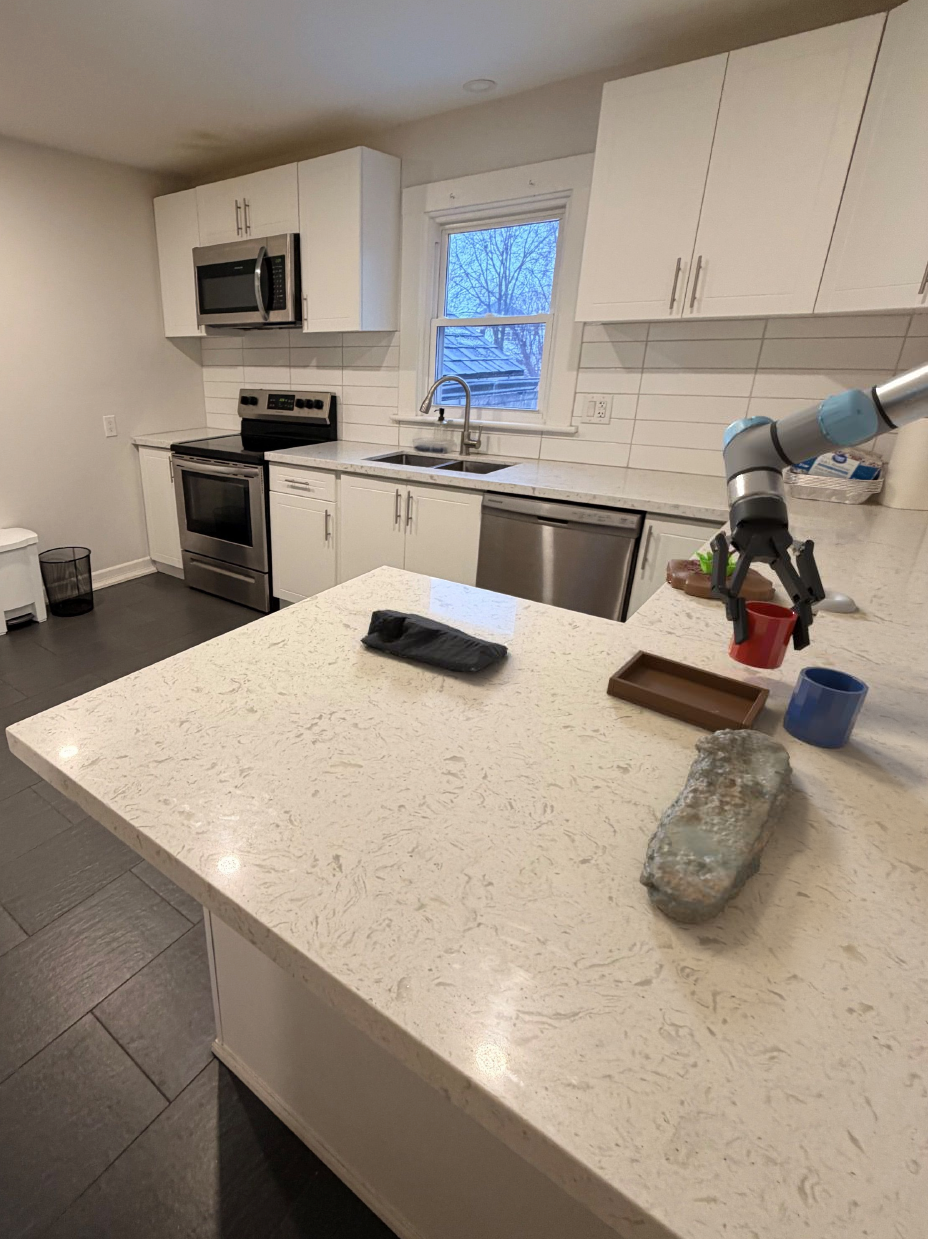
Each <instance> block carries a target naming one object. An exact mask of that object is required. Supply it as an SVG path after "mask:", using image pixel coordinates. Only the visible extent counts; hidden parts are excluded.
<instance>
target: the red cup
mask: <svg viewBox="0 0 928 1239" xmlns="http://www.w3.org/2000/svg"><path fill="white" fill-rule="evenodd" d="M790 608H791V607H788V606H784V605H781V604H778V603H774V602H771V601H770V602H769V601H746V612H747V623H748V633H749V639H748V640H747V641H745V642H744V643H742V644H741V645H735V641H734V630H733V631H732V634H731V638H730V642H729V645H728V649H727V655H728V656H729V657H730V658H731V659H732V660H733V661H735V662H737V663H740V664H742V665H744V666H749V667H752V668H755V669H762V670H776V669H780V668H781V667H782V666H783V664H784V663H783V662H784V661H785V658H786V655H787V651H788V648H789V646H790V643H791V640H792V638H793V637H792V634H793V631H794V628H795V624H796V621H797V618H798V614H797V613H796V612H795V611H794V610H792V609H790Z"/></svg>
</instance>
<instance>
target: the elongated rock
mask: <svg viewBox="0 0 928 1239" xmlns="http://www.w3.org/2000/svg"><path fill="white" fill-rule="evenodd" d="M694 749H695V750H696V751H697V753H698V755H697V756H696V757H695V758H694V760H693V761H692V762H691V765H690V769H689V773H688V774H687V777H686V781H685V783H684V787H683V789H682V791H680V792H679V793H678V796H676V798H675V799H673V801H672V803H671V804H670V806H668V807H667V809H665V811H664V812H663V814H662V815H661V816H660V819H659V822H658V824H657V826H656V828H657V829H656V830H654V831H653V832H652V834H651V835H650V837H649V838H648V839H647V848H646V852H645V859H644V861H643V869H641V873H640V876H639V884H641V885H642V886H644V887H645V888H646V889H647V890H646V893H647V895H648V898H649V900H650V901H651V902H652V903H654V905H655V906H656V907H657V908H658V909H659V910H661V911H662V912H663V913H664V914H665V915H668V916H670V917H671V918H673V919H675V920H677V921H680V922H682V923H687V924H688V923H689V924H693V925H703V924H705V923H706V922H708V921H710V920H711V919H715V918H717V917H719V916H720V914H721V913H724V912H725V906H726V905H727V904H726V903H728V902H729V901H731V900H736V899H737V898H738V897H739V896H740V894H741V893H742V889H743V887H745V886H746V881H748V880H749V879H751V878H753V877H754V876H755V875H757V873H759V872H760V871H761V863H762V861H761V859H762V857H763V855H762V852H763V851H764V849H765V847H766V846H767V844H768V843H769V841H770V839H771V838H772V836H773V834H774V833H775V829H776V827H777V825H778V820H781V819H783V818H782V817H783V816H782V813H783V811H784V810H786V809H787V805H788V804H789V802H790V800H791V798H792V797H791V795H790V793H791V791H792V790H793V785H792V784H793V780H792V779H791V775H792V773H793V771H794V768H793V767H792V766H791V764H790V763H791V762H790V759H791V756H790V753H789V752H788V751H787V748H786V747H785V746H784V745H783V744H782V743H781V742H780V741H779V740H778V739H775V738H774V737H772V736H770V735H768V734H766V733H763V732H761V731H758V730H754V729H753V730H752V729H751V730H738V731H737V730H735V731H733V730H731V729H728V728H727V729H726V730H720V731H719V730H717V731H716V732H713V734H710V735H708V736H706V735H703V736H700V737H698V739H697V741H696V743H695V744H694Z"/></svg>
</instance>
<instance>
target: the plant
mask: <svg viewBox="0 0 928 1239" xmlns="http://www.w3.org/2000/svg"><path fill="white" fill-rule="evenodd" d="M717 534H723V535H724V536H727V532H726V531H725V530H720V531H718V533H717ZM736 553H738V552H737V551H736V550H735V549H734V548H733V549H732V550H730V547H729V548H728V560H727V574H726V588H727V587H728V585H729V582H730V579H731V577H732V574H733V572H734V569H735V567H736V562H737V560H736V561H733V560H734V554H736ZM694 554H695V555H696V556H697V557H698V558H699V559H683V558H682V559H681V558H677V559H675V558H674V559H669V561H668V562H667V566H666V569H665V570H666V578H665V582H666V583H669V581H671V582H670V583H669V584H670V586H671V588H674V589H678V590H682V591H683V593H685V594H688V595H691V596H695V597H699V598H704V599H714V598H713V597H711V595H710V587H711V575H712V562H713V552H710V551H706V556H705V554H702V553H700V552H697V551H694ZM775 595H776V588H775V587H773V582H772V581H771V580H770V579H768V578H767V577H765V576H764V575H763V574H762V573H761V572H759V571H758V570H756V569H754V568H751V567H749V569H748V572H747V575H746V577H745V580H744V582H743V585H742V588H741V590H740V593H739V595H738V598H739V597H745V601H746V602H747V601H763V602H766V601H769V600H773V599H774V597H775ZM716 599H719V598H718V597H717V598H716Z"/></svg>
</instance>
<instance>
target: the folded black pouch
mask: <svg viewBox="0 0 928 1239" xmlns="http://www.w3.org/2000/svg"><path fill="white" fill-rule="evenodd" d="M369 622H370V623H369V626H368V630H367V633H366V635H365V636H364V637H362V638H361V639H359V641H360V642H361V644H362V645H365V646H367V647H369V648H370V647H371V648H372V647H373V648H378V649H380V650H382V651H383V652H387V653H389V654H392V655H396V656H400V657H401V658H407V659H408V658H411V659H415V660H418V661H419V662H423V663H428V665H435V666H436V667H441V668H445V669H448V670H452V671H454V672H458V671H460V672H461V671H464V672H477V671H479V670H480V669H482V668H485V667H486V666H488V665H490V664H492V663H494V662H495V661H499V660H501V659H502V658H503V657H505V656H506V655H507V654H508V650H509V648H508V647H507V646H506V645H503V644H501V643H498V642H493V641H488V640H485V639H482V638H478V637H476V636H473V635H470V634H469V633H466V632H465V631H462V630H461V629H458V628H456V627H453V626H450V625H448V624H446V623H442V622H440V621H437V620H434V619H431V618H428V617H426V616H423V615H420V614H416V613H407V612H401V611H398V610H392V609H377V610H374V611H372V613H371V618H370V621H369ZM397 639H398V641H396V640H397ZM394 641H396V642H394Z"/></svg>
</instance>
